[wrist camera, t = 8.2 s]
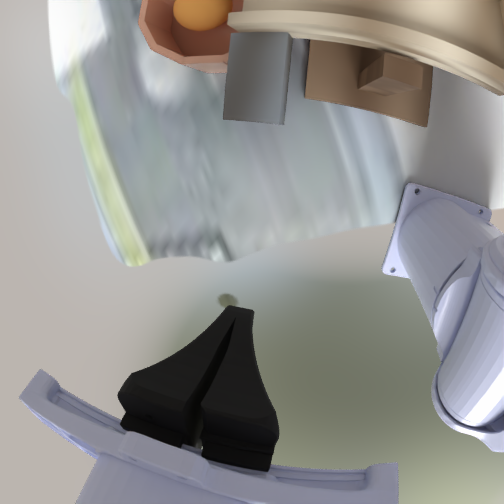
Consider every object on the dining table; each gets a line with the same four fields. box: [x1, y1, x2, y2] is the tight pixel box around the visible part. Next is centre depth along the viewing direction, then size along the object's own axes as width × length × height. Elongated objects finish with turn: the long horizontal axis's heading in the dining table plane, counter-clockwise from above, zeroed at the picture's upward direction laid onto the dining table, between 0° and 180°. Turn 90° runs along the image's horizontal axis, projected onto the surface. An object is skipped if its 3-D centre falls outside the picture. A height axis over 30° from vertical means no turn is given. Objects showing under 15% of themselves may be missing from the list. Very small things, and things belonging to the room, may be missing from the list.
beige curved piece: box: [223, 0, 504, 125], centre depth 9 cm, size 16×12×6 cm
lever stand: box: [305, 39, 433, 127], centre depth 10 cm, size 9×13×8 cm
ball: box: [173, 0, 233, 31], centre depth 12 cm, size 4×4×4 cm
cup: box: [138, 0, 244, 73], centre depth 12 cm, size 10×10×4 cm
